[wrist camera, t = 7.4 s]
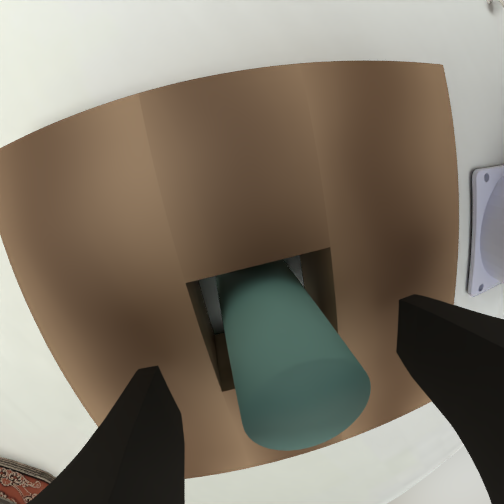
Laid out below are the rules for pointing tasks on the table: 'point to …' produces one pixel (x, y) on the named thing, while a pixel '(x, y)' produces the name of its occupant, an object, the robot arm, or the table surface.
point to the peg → (287, 360)
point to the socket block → (235, 229)
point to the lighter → (21, 482)
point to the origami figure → (499, 0)
